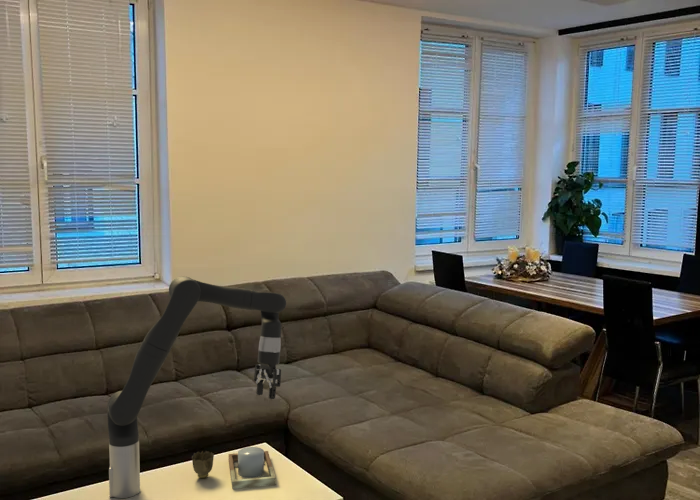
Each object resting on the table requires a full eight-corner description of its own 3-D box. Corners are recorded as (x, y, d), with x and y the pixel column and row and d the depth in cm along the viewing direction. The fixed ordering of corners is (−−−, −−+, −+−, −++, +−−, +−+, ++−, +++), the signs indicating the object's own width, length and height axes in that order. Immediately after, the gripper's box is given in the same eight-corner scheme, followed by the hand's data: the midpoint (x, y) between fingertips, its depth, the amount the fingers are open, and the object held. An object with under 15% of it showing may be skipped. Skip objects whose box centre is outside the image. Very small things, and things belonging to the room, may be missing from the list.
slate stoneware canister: (239, 479, 231) (238, 458, 231) (237, 468, 240) (237, 448, 239) (265, 476, 234) (265, 455, 233) (262, 466, 242) (262, 445, 241)
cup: (208, 483, 228) (208, 460, 227) (188, 480, 230) (188, 458, 229) (217, 473, 236) (217, 451, 235) (197, 471, 237) (197, 449, 236)
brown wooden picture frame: (232, 488, 224) (232, 481, 224) (228, 460, 246) (228, 454, 246) (275, 484, 227) (275, 477, 227) (268, 457, 250) (267, 450, 249)
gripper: (250, 347, 239) (246, 393, 238) (270, 352, 227) (266, 400, 226) (268, 348, 243) (264, 393, 242) (289, 352, 232) (285, 400, 231)
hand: (265, 396), depth 234 cm, fingers open, 8 cm apart
